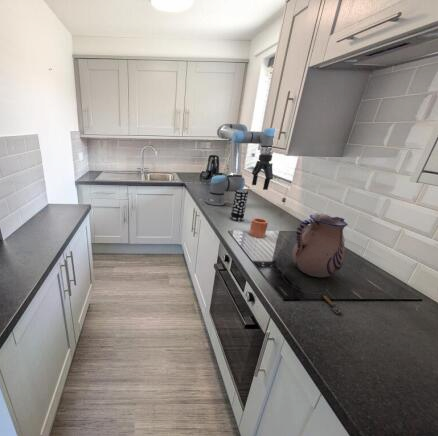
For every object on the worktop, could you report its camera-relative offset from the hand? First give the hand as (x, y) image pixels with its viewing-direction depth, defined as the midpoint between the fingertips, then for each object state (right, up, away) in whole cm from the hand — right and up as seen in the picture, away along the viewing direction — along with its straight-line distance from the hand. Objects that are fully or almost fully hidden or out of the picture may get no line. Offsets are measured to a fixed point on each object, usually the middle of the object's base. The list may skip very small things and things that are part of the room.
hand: (259, 187), depth 153 cm
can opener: (-11, -51, -73) cm, 90 cm away
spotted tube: (-12, -22, +7) cm, 26 cm away
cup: (-10, -30, -17) cm, 36 cm away
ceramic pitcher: (-4, -44, -53) cm, 69 cm away
